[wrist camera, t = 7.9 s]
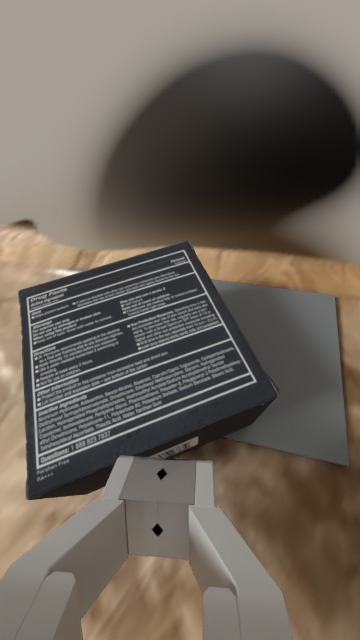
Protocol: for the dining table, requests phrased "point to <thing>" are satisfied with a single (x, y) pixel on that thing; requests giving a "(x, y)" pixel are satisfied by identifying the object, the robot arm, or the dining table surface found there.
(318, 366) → the slate tile
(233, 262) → the dining table surface
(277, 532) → the dining table surface
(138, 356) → the small box
